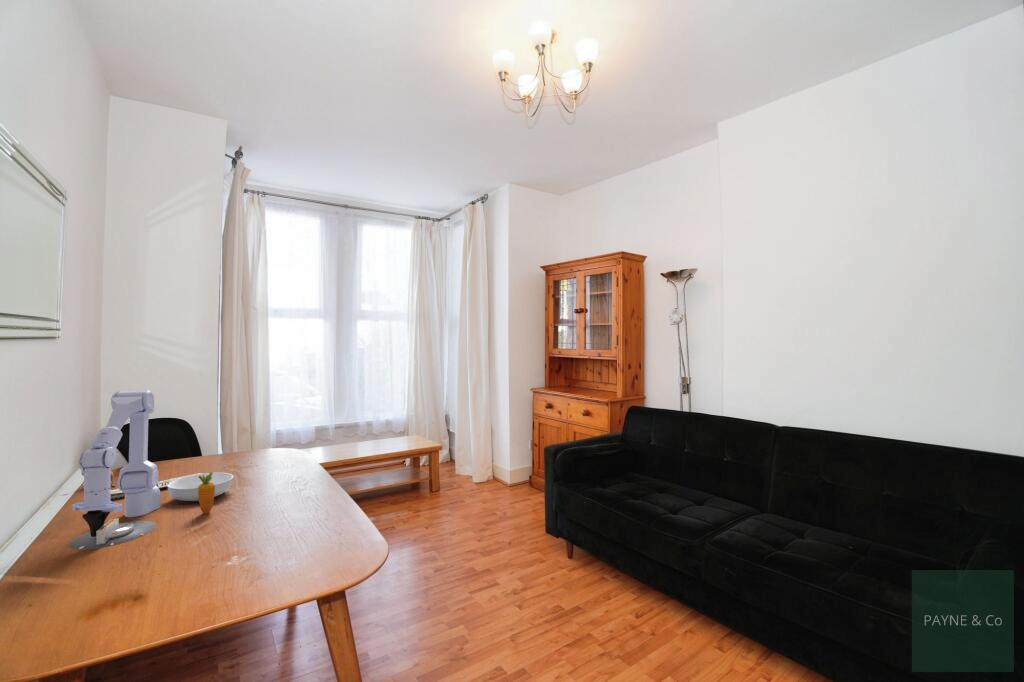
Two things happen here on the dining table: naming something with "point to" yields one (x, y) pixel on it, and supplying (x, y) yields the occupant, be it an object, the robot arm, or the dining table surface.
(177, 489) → the serving bowl
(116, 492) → the piano keyboard
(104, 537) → the grey bar on dome
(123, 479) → the robot arm
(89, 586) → the dining table surface
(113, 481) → the lion figurine
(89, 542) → the dial plate
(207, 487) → the carrot
